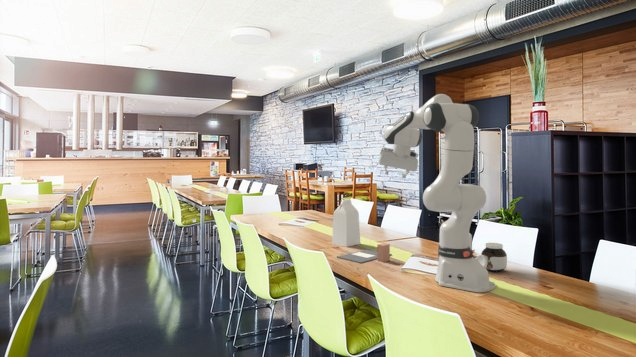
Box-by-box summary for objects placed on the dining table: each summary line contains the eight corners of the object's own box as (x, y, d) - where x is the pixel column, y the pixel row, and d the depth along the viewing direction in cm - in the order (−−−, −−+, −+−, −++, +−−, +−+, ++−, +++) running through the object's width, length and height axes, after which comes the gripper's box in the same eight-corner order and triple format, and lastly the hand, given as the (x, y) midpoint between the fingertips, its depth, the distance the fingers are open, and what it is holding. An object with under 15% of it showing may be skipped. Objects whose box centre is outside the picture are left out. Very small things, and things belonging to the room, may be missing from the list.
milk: (346, 246, 225) (346, 200, 224) (332, 243, 234) (331, 199, 233) (360, 243, 234) (360, 199, 232) (346, 240, 242) (346, 198, 241)
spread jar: (509, 271, 175) (509, 244, 174) (498, 276, 167) (498, 248, 167) (482, 265, 184) (482, 240, 183) (470, 270, 176) (470, 244, 175)
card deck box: (389, 260, 194) (389, 244, 194) (383, 262, 191) (383, 245, 190) (383, 259, 196) (383, 243, 196) (377, 260, 193) (377, 244, 193)
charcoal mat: (391, 255, 205) (391, 254, 205) (360, 263, 188) (360, 262, 188) (367, 250, 216) (367, 249, 216) (336, 257, 200) (336, 256, 200)
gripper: (382, 147, 206) (376, 173, 209) (421, 155, 206) (414, 181, 209) (381, 146, 213) (375, 171, 215) (418, 153, 212) (412, 178, 215)
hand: (395, 176), depth 212 cm, fingers open, 8 cm apart
